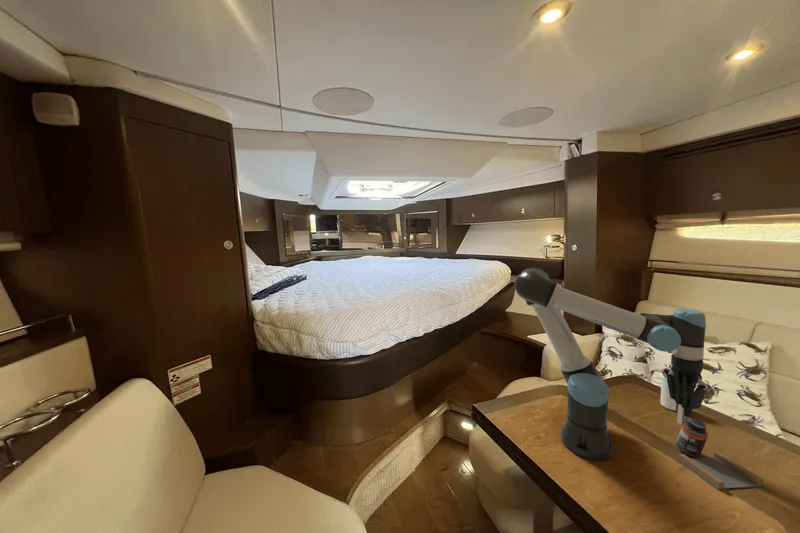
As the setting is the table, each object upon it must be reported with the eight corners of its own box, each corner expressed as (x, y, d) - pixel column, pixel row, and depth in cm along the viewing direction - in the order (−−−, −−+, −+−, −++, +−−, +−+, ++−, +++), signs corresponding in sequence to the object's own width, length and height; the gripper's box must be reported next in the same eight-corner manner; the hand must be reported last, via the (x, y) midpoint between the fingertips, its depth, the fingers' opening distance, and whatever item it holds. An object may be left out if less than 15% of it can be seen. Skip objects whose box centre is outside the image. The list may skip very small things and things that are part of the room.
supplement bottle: (693, 444, 98) (704, 418, 94) (704, 460, 92) (716, 433, 89) (671, 439, 100) (681, 413, 96) (681, 454, 94) (692, 427, 91)
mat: (717, 489, 81) (718, 482, 81) (678, 460, 92) (678, 454, 92) (763, 486, 82) (763, 479, 82) (718, 457, 93) (719, 451, 93)
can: (680, 414, 116) (682, 385, 115) (657, 406, 122) (659, 379, 121) (685, 408, 120) (687, 380, 119) (663, 400, 126) (664, 374, 125)
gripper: (720, 363, 89) (715, 435, 91) (677, 348, 102) (673, 411, 104) (698, 365, 89) (693, 437, 91) (657, 349, 102) (654, 413, 104)
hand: (683, 423), depth 97 cm, fingers closed
